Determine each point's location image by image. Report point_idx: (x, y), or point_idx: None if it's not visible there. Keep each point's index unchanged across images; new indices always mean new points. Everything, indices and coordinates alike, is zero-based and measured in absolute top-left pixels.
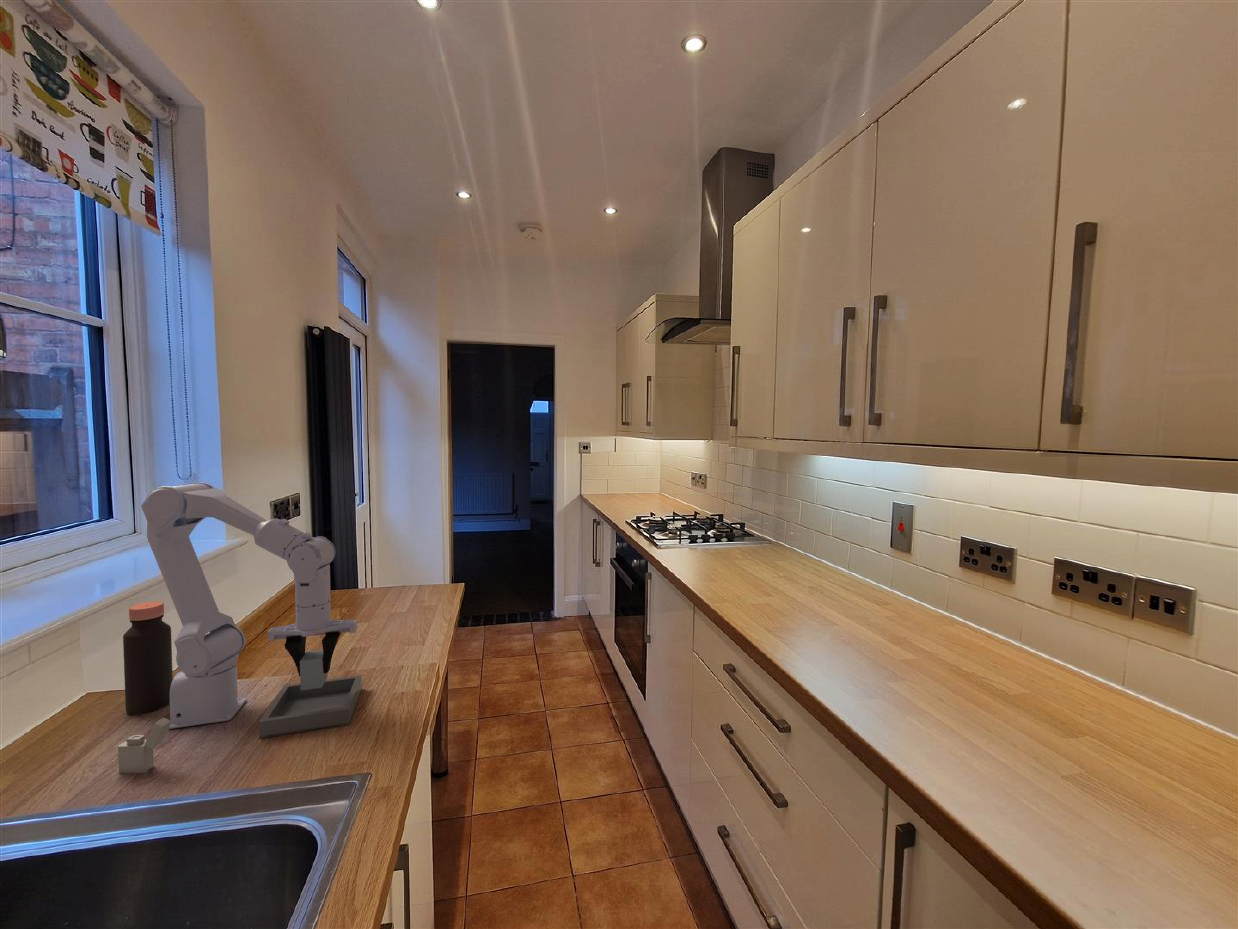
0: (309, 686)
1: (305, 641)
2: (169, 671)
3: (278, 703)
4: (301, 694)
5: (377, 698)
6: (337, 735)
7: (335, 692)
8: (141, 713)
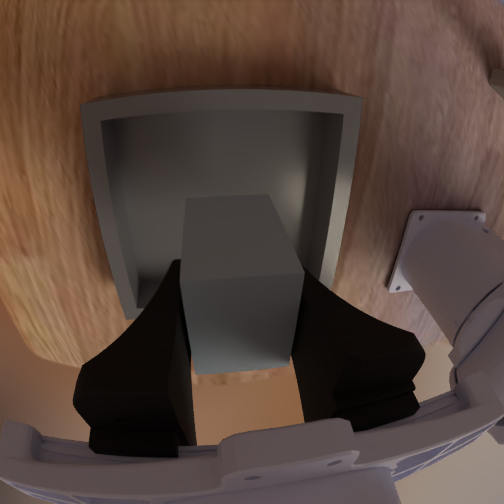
0: (235, 200)
1: (304, 411)
2: None
3: (328, 212)
4: None
5: (71, 236)
6: (118, 45)
7: None
8: None
